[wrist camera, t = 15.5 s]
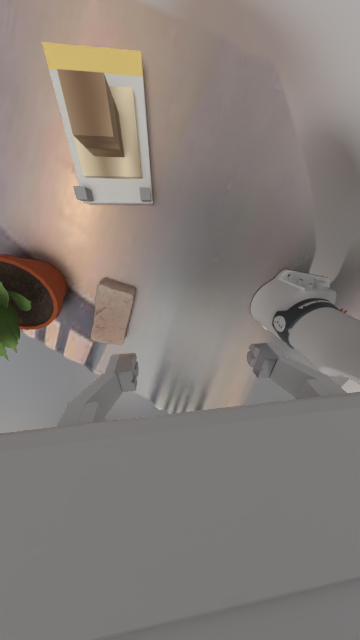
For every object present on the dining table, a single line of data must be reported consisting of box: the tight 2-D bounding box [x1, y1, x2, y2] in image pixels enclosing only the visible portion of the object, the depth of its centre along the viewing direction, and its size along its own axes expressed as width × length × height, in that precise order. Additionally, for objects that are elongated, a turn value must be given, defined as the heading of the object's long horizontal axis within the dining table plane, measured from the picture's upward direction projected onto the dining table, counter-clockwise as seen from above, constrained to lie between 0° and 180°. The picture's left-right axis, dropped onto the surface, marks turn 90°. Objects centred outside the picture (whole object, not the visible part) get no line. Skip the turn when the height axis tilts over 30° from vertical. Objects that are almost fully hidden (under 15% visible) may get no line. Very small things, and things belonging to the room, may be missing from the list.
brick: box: [91, 278, 136, 345], centre depth 41 cm, size 17×8×5 cm, turn 160°
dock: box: [42, 42, 153, 205], centre depth 24 cm, size 12×16×6 cm
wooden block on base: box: [57, 69, 142, 179], centre depth 21 cm, size 9×9×8 cm
